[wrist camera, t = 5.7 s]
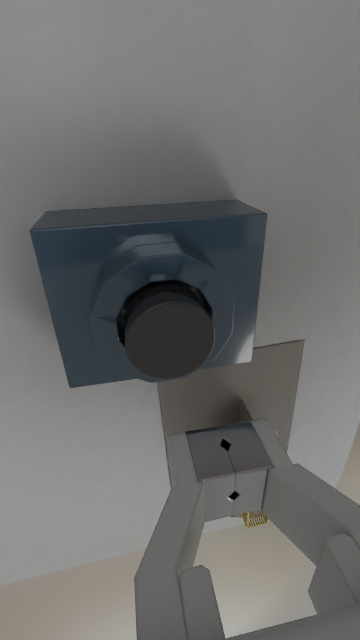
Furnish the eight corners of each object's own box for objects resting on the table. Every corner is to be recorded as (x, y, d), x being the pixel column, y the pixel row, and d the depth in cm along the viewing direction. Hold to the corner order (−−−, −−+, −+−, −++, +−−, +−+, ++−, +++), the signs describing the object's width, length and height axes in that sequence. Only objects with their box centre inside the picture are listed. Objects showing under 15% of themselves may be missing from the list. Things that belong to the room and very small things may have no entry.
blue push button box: (238, 199, 19) (285, 221, 14) (230, 328, 24) (264, 381, 18) (44, 211, 17) (18, 240, 12) (75, 347, 22) (65, 411, 17)
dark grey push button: (204, 278, 15) (217, 297, 13) (203, 348, 17) (214, 373, 15) (118, 287, 14) (119, 307, 13) (127, 359, 16) (130, 385, 15)
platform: (173, 504, 33) (186, 580, 27) (155, 365, 24) (169, 435, 18) (282, 479, 34) (316, 545, 29) (304, 340, 25) (360, 396, 20)
